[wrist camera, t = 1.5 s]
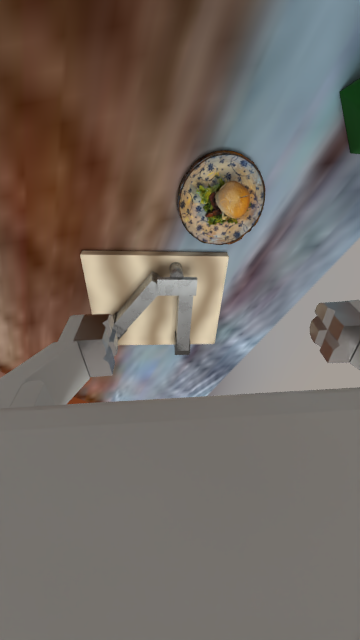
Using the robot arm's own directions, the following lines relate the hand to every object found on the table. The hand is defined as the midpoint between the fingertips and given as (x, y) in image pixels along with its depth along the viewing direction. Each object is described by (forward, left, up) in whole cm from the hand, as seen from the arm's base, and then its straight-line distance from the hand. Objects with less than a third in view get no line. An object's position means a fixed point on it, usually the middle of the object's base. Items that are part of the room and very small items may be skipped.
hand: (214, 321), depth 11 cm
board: (-3, -19, -30) cm, 36 cm away
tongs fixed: (0, -19, -29) cm, 35 cm away
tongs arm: (-6, -18, -28) cm, 34 cm away
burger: (+6, -2, -31) cm, 32 cm away
